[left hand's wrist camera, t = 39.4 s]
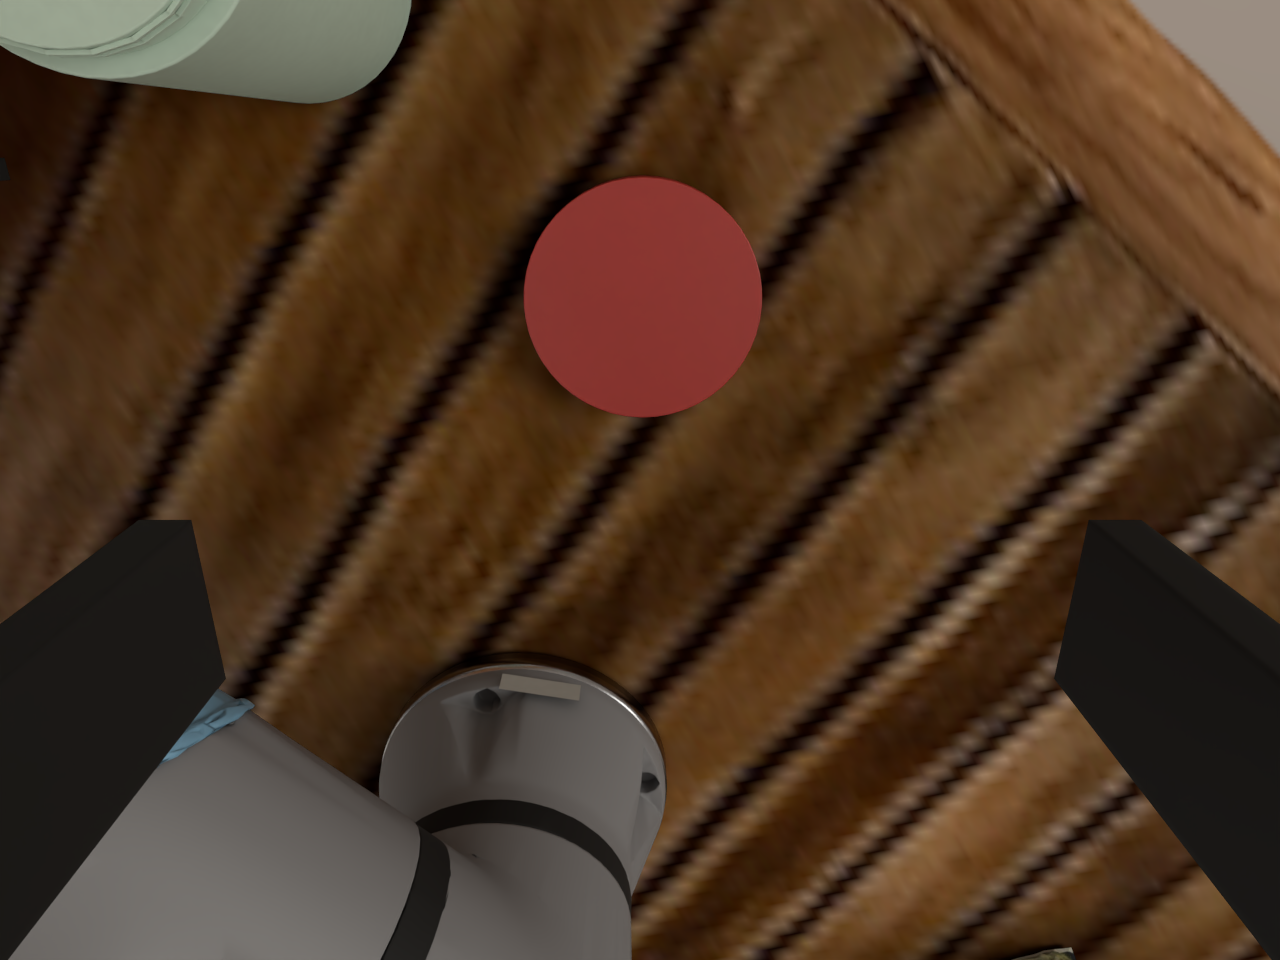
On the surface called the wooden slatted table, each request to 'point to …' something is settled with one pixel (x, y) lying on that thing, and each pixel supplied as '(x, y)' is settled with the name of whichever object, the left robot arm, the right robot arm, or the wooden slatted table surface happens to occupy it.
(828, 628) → the wooden slatted table surface
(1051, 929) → the wooden slatted table surface
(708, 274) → the lid
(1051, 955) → the fossil
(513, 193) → the wooden slatted table surface
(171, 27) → the jar
